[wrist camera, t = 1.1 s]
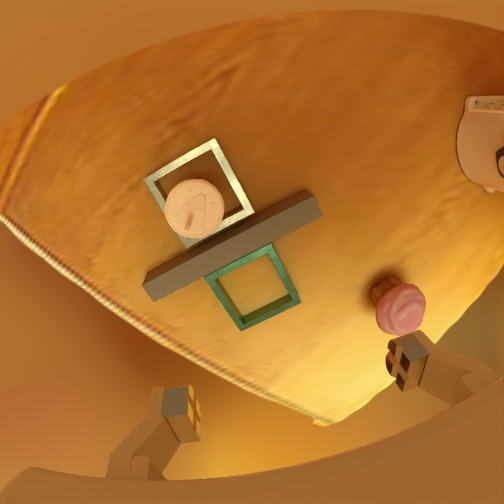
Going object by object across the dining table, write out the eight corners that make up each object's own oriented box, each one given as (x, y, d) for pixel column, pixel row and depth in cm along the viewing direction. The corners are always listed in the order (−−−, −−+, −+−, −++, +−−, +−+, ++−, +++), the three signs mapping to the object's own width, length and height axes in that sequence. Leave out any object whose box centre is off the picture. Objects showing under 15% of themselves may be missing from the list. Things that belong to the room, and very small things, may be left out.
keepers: (214, 137, 38) (214, 138, 36) (298, 295, 48) (301, 302, 46) (146, 177, 39) (143, 179, 37) (239, 324, 49) (240, 331, 47)
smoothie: (168, 201, 40) (144, 235, 28) (190, 160, 39) (176, 175, 26) (208, 223, 42) (204, 266, 29) (232, 183, 40) (238, 209, 28)
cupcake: (395, 258, 48) (427, 286, 38) (410, 291, 51) (439, 321, 42) (353, 289, 49) (378, 323, 40) (372, 320, 52) (396, 354, 43)
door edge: (305, 189, 42) (314, 195, 38) (314, 208, 43) (322, 215, 39) (147, 272, 44) (141, 285, 40) (158, 288, 45) (154, 301, 42)
